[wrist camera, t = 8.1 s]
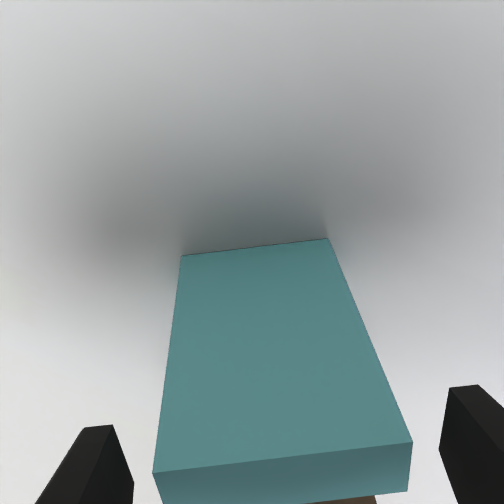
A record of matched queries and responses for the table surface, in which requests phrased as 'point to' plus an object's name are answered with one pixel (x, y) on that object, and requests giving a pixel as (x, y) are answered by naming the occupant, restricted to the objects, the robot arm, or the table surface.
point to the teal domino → (274, 385)
